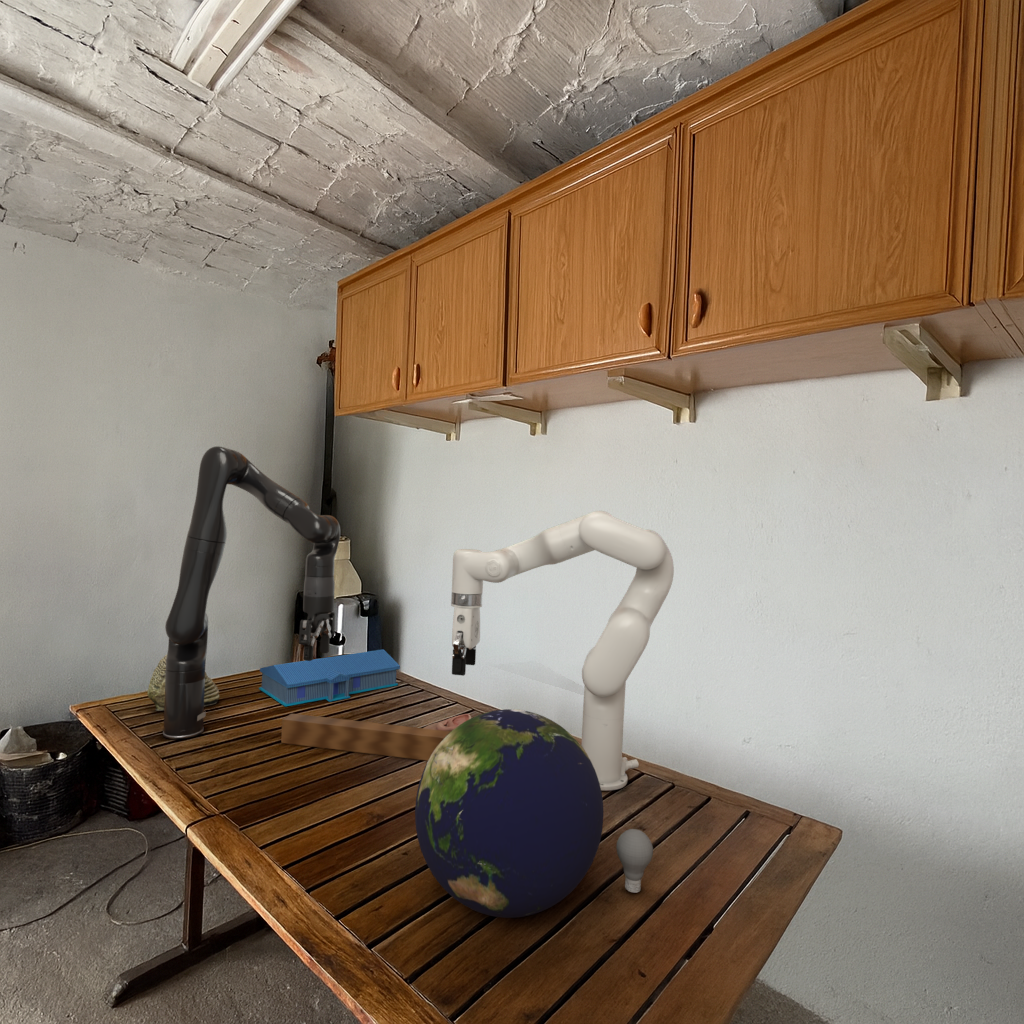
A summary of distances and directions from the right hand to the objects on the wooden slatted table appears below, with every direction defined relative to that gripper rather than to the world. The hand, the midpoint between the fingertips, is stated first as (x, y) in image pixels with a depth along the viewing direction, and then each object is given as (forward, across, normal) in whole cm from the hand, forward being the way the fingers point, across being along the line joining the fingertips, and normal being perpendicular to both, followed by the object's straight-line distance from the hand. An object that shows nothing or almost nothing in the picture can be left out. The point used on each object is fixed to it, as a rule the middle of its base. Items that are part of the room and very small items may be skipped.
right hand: (463, 669), depth 155 cm
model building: (+22, +43, +55) cm, 74 cm away
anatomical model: (+22, +17, +9) cm, 30 cm away
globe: (+22, -50, -21) cm, 59 cm away
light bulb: (+22, -43, -42) cm, 64 cm away
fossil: (+22, +14, +87) cm, 91 cm away
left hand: (0, 0, +39) cm, 39 cm away
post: (+22, 0, +20) cm, 30 cm away
